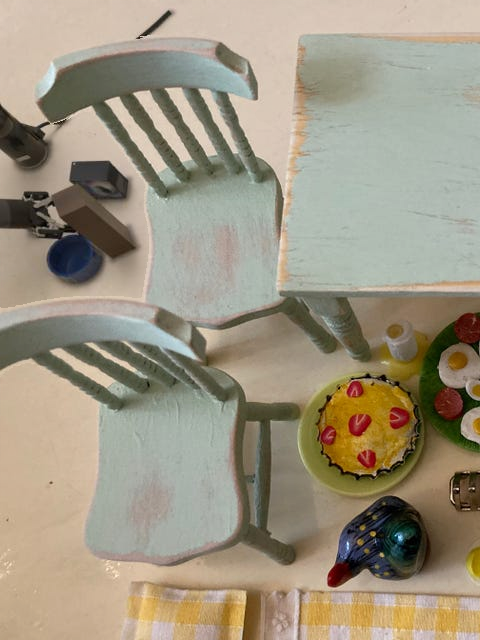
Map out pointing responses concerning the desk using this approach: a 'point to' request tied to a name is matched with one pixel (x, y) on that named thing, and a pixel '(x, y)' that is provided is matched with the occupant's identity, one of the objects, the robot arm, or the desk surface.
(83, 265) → the bowl
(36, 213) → the robot arm
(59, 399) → the desk surface
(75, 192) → the brown rectangular block
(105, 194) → the small box
